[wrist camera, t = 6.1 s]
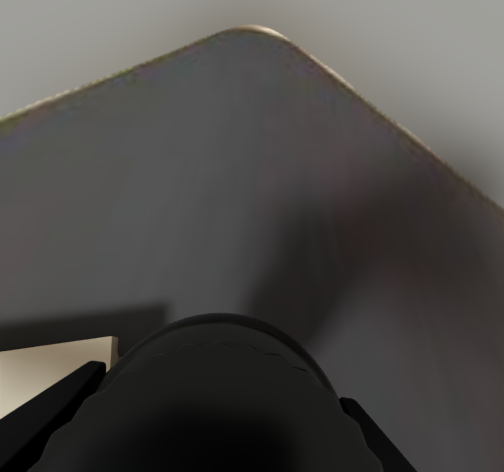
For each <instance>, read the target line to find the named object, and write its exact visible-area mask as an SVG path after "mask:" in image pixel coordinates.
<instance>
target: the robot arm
mask: <svg viewBox="0 0 504 472" xmlns="http://www.w3.org/2000/svg"><path fill="white" fill-rule="evenodd" d="M105 374H106V363H105V362H101V361H94V360H92V361H89V362H87V363H85V364H84V365H82V366H81V367H79V368H78V369H76V370H75V371H73V372H72V373H70V374H69V375H67V376H65V377H64V378H62V379H61V380H59V381H58V382H56V383H55V384H53V385H52V386H50V387H49V388H47V389H46V390H44V391H42V392H41V393H39V394H38V395H36V396H35V397H33V398H32V399H30V400H29V401H27V402H26V403H24V404H23V405H21V406H19V407H18V408H16V409H15V410H13V411H12V412H10V413H9V414H7V415H6V416H4V417H3V418H1V419H0V472H26V471H27V470H28V469H30V468H31V467H32V466H33V465H34V464H35V463H36V462H38V461H39V459H40V457H41V455H42V453H43V451H44V448H45V445H46V444H47V442H48V440H49V438H50V436H51V434H52V433H54V432H55V431H56V430H58V429H59V428H60V427H62V426H63V425H64V424H66V423H68V422H70V421H71V420H72V418H73V417H74V415H75V413H76V412H77V410H78V409H79V407H80V406H81V404H82V403H83V401H84V400H85V399H86V398H87V397H89V396H90V395H91V393H92V392H93V390H94V388H95V387H96V386H97V384H98V383H99V382H100V380H101V379H102V378H103V376H104V375H105ZM339 401H340V403H341V406H342V408H343V410H344V413H345V414H347V415H349V416H350V417H352V418H353V419H354V420H355V421H357V422H358V423H359V424H360V427H361V430H362V432H363V435H364V438H365V441H366V444H367V447H368V448H369V449H370V450H371V451H372V452H373V453H374V454H375V455H376V456H377V457H378V458H379V460H380V461H381V462H382V466H383V470H384V472H417V471H416V470H415V469H414V467H413V466H412V465H411V464H410V463H409V462H408V460H407V459H406V458H405V457H404V456H403V455H402V453H401V452H400V451H399V450H398V449H397V448H396V446H395V445H394V444H393V443H392V442H391V441H390V440H389V438H388V437H387V436H386V435H385V434H384V433H383V431H382V430H381V429H380V428H379V427H378V426H377V424H376V423H375V422H374V421H373V420H372V419H371V418H370V416H369V415H368V414H367V413H366V412H365V411H364V409H363V408H362V407H361V406H360V405H359V404H358V402H357V401H355V400H354V399H351V398H345V397H341V398H340V399H339Z"/></svg>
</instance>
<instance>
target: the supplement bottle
mask: <svg viewBox="0 0 504 472" xmlns="http://www.w3.org/2000/svg"><path fill="white" fill-rule="evenodd" d="M26 472H384V470H383V466H382V462H381V461H380V460H379V458H378V457H377V456H376V455H375V454H374V453H373V452H372V451H371V450H370V449H369V448H368V447H367V444H366V441H365V438H364V435H363V432H362V430H361V427H360V424H359V423H358V422H357V421H355V420H354V419H353V418H352V417H350V416H349V415H347V414H345V413H344V410H343V408H342V406H341V403H340V401H339V398H338V396H337V394H336V392H335V390H334V388H333V387H332V385H331V383H330V381H329V380H328V378H327V376H326V375H325V373H324V372H323V370H322V369H321V368H320V366H319V365H318V364H317V362H316V361H315V360H314V359H313V358H312V357H311V355H310V354H309V353H308V352H307V351H306V350H305V349H304V348H303V347H302V346H301V345H300V344H299V343H297V342H296V341H295V340H294V339H292V338H291V337H290V336H289V335H287V334H286V333H284V332H283V331H281V330H279V329H278V328H276V327H274V326H272V325H270V324H268V323H266V322H263V321H261V320H258V319H255V318H252V317H248V316H244V315H239V314H232V313H208V314H201V315H196V316H191V317H187V318H184V319H181V320H178V321H175V322H173V323H170V324H168V325H166V326H164V327H162V328H160V329H158V330H156V331H155V332H153V333H151V334H149V335H148V336H147V337H145V338H144V339H142V340H141V341H139V342H138V343H137V344H136V345H134V346H133V347H132V348H131V349H129V350H128V351H127V352H126V353H125V354H124V355H123V356H122V357H121V358H120V359H119V360H118V361H117V362H116V363H115V364H114V365H113V366H112V367H111V368H110V369H109V370H108V372H107V373H106V374H105V375H104V376H103V378H102V379H101V380H100V382H99V383H98V384H97V386H96V387H95V388H94V390H93V392H92V393H91V395H90V396H89V397H87V398H86V399H85V400H84V401H83V403H82V404H81V406H80V407H79V409H78V410H77V412H76V413H75V415H74V417H73V418H72V420H71V421H70V422H68V423H66V424H64V425H63V426H62V427H60V428H59V429H58V430H56V431H55V432H54V433H52V434H51V436H50V438H49V440H48V442H47V444H46V445H45V448H44V451H43V453H42V455H41V457H40V459H39V461H38V462H36V463H35V464H34V465H33V466H32V467H31V468H30V469H28V470H27V471H26Z"/></svg>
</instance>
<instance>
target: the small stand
mask: <svg viewBox="0 0 504 472" xmlns="http://www.w3.org/2000/svg"><path fill="white" fill-rule="evenodd" d="M119 359H120V355H119V354H118V337H114V336H109V337H102V338H95V339H88V340H81V341H73V342H66V343H59V344H52V345H45V346H38V347H31V348H24V349H17V350H10V351H3V352H0V419H1V418H3V417H4V416H6V415H7V414H9V413H10V412H12V411H13V410H15V409H16V408H18V407H19V406H21V405H23V404H24V403H26V402H27V401H29V400H30V399H32V398H33V397H35V396H36V395H38V394H39V393H41V392H42V391H44V390H46V389H47V388H49V387H50V386H52V385H53V384H55V383H56V382H58V381H59V380H61V379H62V378H64V377H65V376H67V375H69V374H70V373H72V372H73V371H75V370H76V369H78V368H79V367H81V366H82V365H84V364H85V363H87V362H89V361H92V360H94V361H101V362H105V363H106V373H107V372H108V370H109V369H110V368H111V367H112V366H113V365H114V364H115V363H116V362H117V361H118V360H119Z"/></svg>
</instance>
